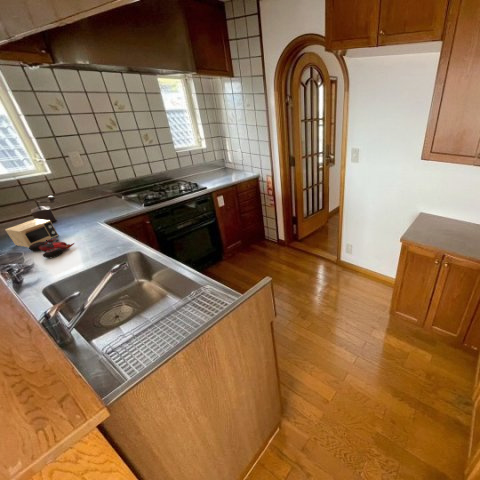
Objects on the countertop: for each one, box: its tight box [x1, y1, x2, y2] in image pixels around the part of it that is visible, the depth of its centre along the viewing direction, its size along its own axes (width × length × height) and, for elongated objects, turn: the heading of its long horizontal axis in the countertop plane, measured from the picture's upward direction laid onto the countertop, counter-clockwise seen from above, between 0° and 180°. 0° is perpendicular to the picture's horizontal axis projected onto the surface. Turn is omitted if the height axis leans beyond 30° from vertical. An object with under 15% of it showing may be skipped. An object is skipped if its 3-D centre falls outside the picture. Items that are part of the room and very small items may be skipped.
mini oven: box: [4, 218, 59, 248], centre depth 163 cm, size 13×16×11 cm
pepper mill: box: [30, 195, 57, 223], centre depth 190 cm, size 16×11×18 cm
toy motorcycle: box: [28, 237, 75, 259], centre depth 155 cm, size 25×5×16 cm
